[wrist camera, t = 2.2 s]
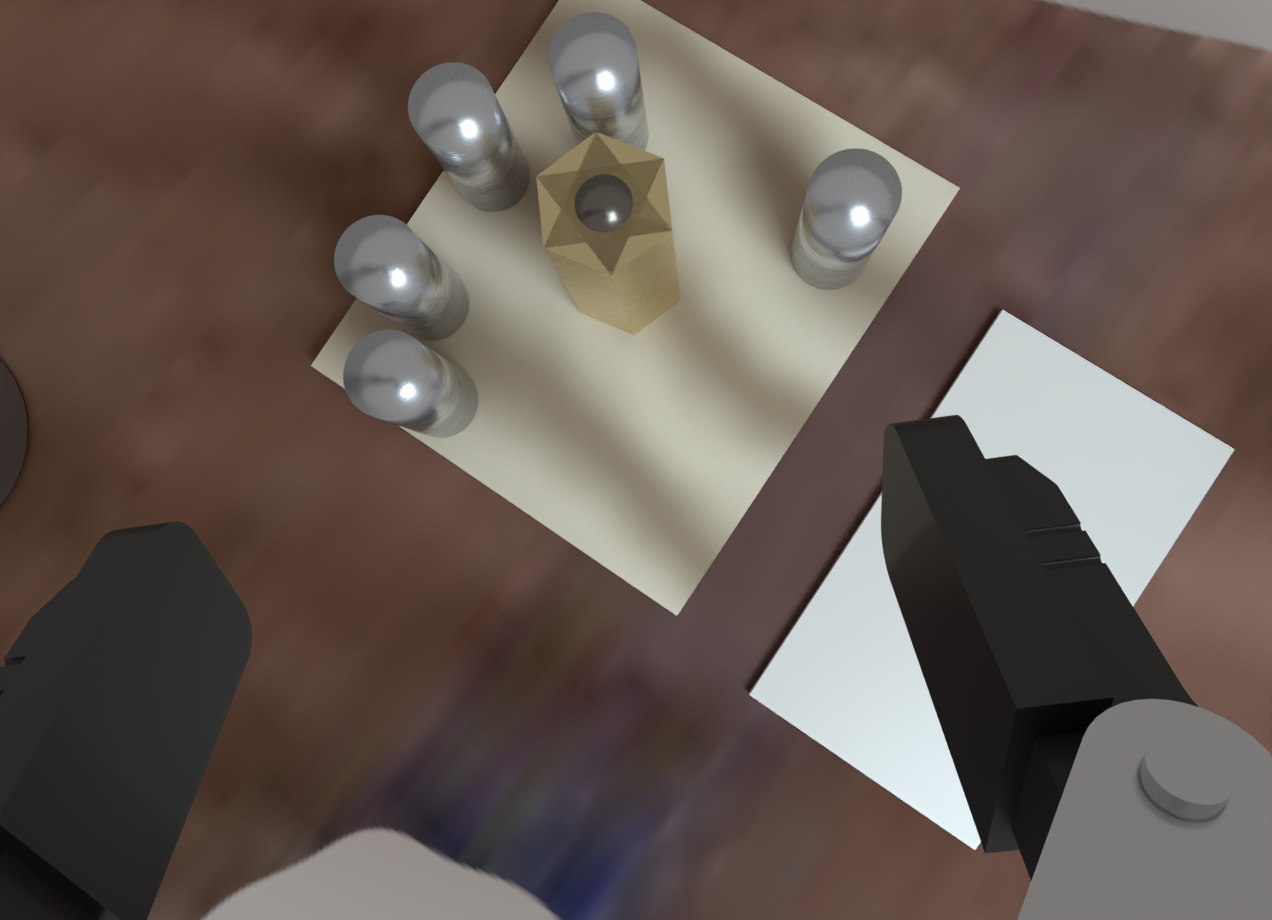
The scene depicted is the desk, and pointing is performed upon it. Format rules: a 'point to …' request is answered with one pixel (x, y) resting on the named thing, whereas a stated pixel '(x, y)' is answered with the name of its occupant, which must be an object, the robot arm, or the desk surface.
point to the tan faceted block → (611, 231)
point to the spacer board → (678, 339)
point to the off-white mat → (1002, 426)
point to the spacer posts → (499, 177)
